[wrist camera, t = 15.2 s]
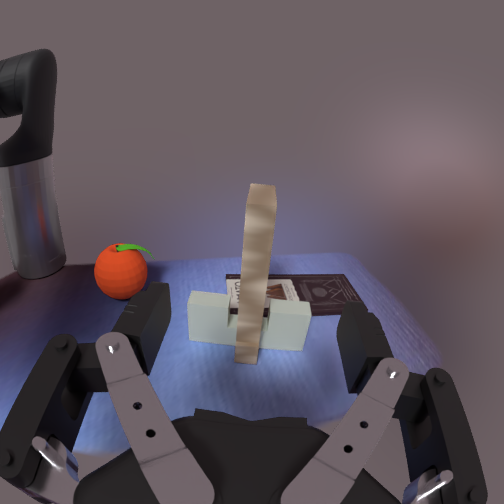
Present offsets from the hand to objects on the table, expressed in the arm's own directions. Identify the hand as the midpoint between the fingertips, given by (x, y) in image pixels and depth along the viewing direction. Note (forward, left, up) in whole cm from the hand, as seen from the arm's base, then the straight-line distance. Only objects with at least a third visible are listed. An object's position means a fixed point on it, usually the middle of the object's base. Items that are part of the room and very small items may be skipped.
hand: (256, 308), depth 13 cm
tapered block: (0, +13, -15) cm, 20 cm away
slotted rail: (0, +13, -15) cm, 20 cm away
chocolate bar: (+6, +23, -15) cm, 28 cm away
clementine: (-16, +19, -15) cm, 29 cm away
